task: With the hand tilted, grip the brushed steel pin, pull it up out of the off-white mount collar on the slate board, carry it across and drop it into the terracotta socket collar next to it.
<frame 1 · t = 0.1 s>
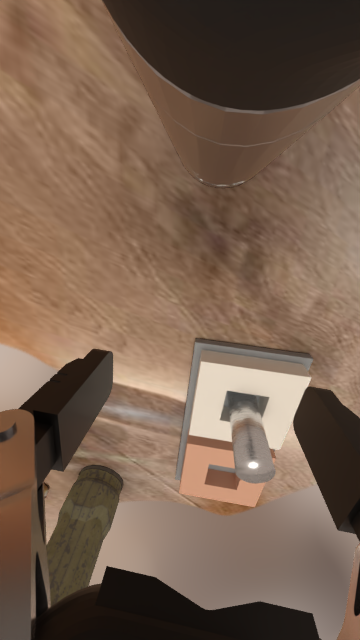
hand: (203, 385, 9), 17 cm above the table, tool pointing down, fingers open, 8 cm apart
steel pin: (240, 394, 30), point 1 cm above the table, touching dock board
thermos: (102, 478, 44), on the table
dock board: (230, 425, 34), on the table
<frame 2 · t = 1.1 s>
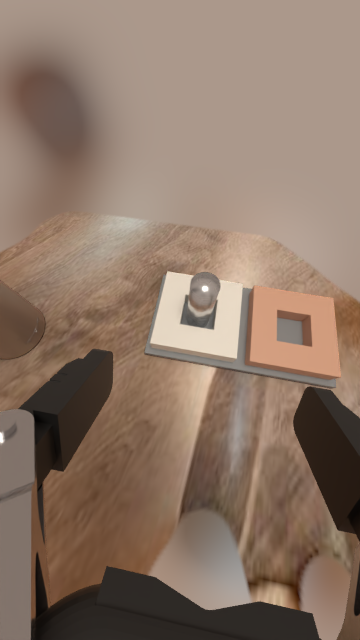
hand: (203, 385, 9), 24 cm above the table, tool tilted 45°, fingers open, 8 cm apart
steel pin: (197, 318, 36), point 1 cm above the table, touching dock board
dock board: (239, 327, 36), on the table
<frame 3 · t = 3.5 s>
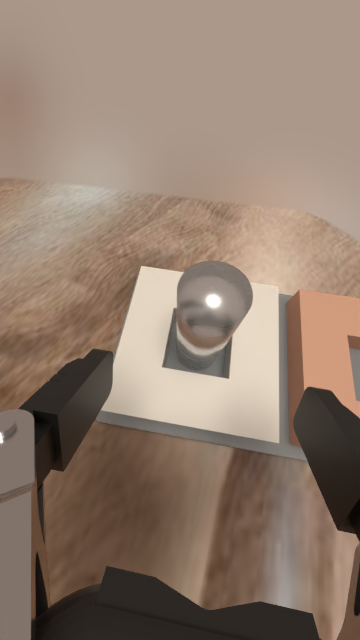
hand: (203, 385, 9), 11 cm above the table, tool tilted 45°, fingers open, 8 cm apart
steel pin: (197, 349, 20), point 1 cm above the table, touching dock board
dock board: (272, 365, 20), on the table
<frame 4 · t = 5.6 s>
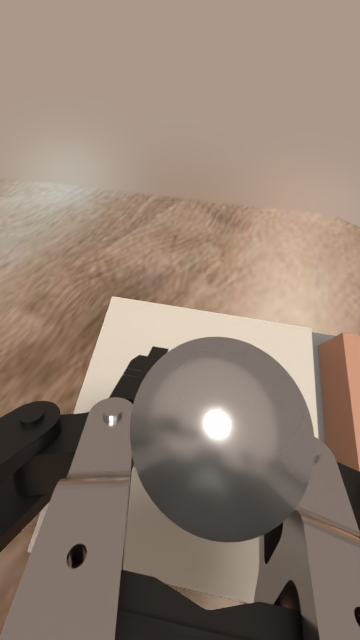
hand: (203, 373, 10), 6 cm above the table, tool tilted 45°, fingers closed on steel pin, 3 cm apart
steel pin: (191, 419, 14), point 1 cm above the table, touching dock board, gripper
dock board: (301, 439, 14), on the table
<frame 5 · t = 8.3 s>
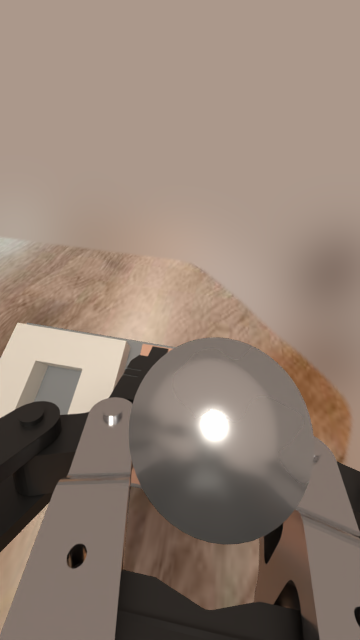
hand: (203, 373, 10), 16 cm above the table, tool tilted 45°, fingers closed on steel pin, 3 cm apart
steel pin: (191, 419, 14), point 12 cm above the table, touching gripper
dock board: (126, 403, 25), on the table
when the fingers open (6 cm above the table, at t = 11.0 s): steel pin stays where it is, resting on dock board.
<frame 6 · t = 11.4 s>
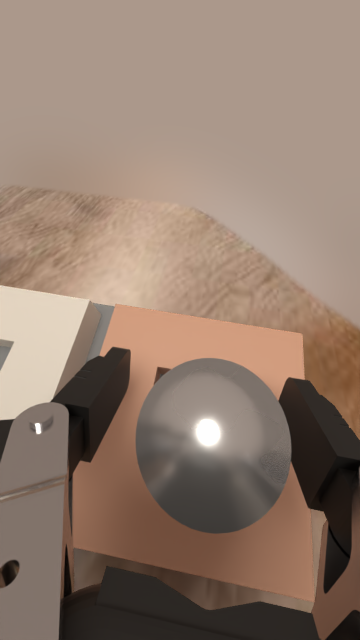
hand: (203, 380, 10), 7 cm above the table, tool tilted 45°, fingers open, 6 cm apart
steel pin: (190, 421, 14), point 1 cm above the table, touching dock board
dock board: (91, 400, 16), on the table
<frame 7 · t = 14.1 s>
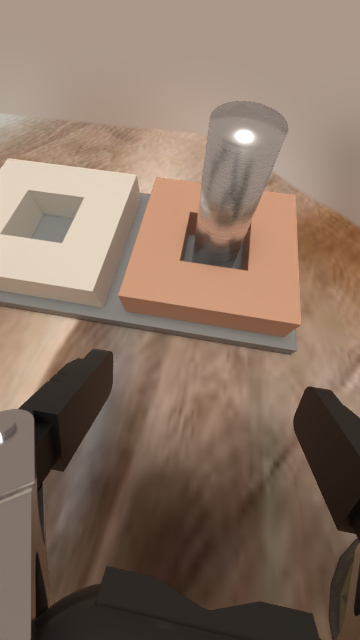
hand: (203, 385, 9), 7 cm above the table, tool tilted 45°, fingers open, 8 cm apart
steel pin: (212, 260, 20), point 1 cm above the table, touching dock board
dock board: (136, 256, 21), on the table
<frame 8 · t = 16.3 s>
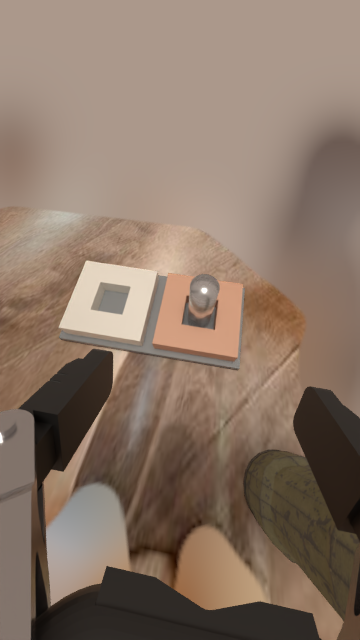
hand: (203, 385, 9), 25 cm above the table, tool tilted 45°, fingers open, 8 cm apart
steel pin: (198, 319, 36), point 1 cm above the table, touching dock board
thermos: (276, 487, 29), on the table
dock board: (157, 314, 38), on the table
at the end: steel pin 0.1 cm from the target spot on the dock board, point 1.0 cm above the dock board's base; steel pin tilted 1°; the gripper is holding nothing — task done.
